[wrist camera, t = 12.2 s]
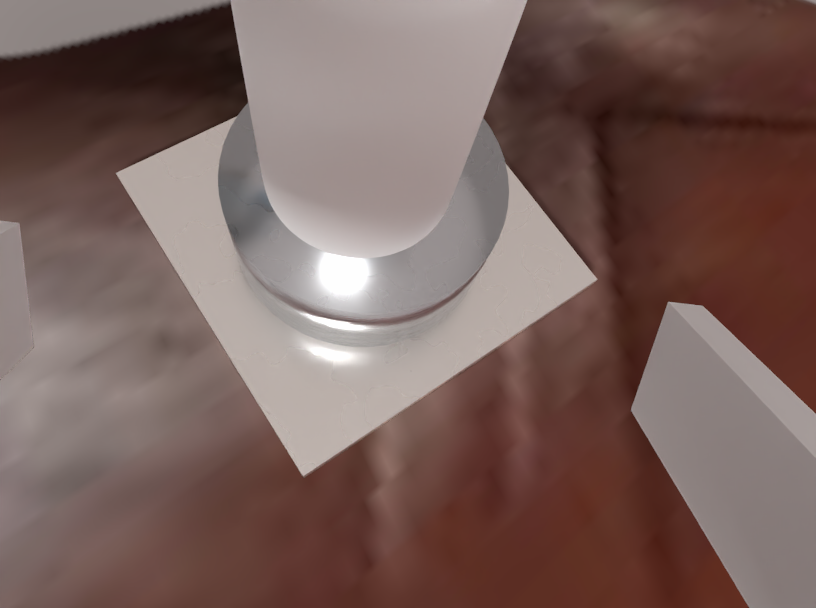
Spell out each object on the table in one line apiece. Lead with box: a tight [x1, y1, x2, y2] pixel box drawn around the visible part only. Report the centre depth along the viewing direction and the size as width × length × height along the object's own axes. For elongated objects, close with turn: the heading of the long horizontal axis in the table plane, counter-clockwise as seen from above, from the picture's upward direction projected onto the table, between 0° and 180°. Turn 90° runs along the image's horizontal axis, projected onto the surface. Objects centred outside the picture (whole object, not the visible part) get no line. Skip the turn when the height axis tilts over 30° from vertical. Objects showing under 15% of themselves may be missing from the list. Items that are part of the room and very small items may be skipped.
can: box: [230, 0, 527, 258], centre depth 16 cm, size 6×6×12 cm
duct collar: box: [116, 103, 597, 478], centre depth 24 cm, size 14×14×5 cm
